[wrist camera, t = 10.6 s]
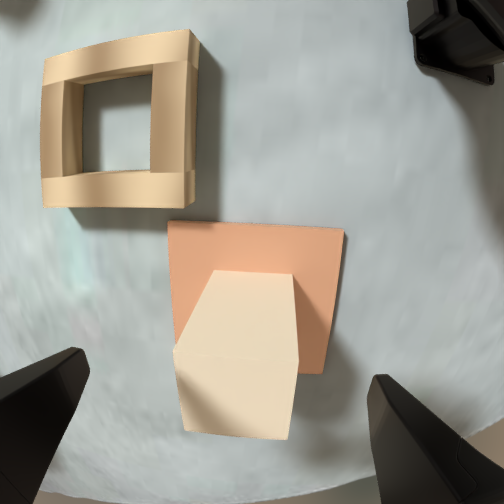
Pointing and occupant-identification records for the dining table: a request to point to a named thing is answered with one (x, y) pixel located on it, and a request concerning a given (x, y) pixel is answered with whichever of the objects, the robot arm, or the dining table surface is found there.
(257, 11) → the dining table surface
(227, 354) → the cream block
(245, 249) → the terracotta coaster
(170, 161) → the birch pocket holder
